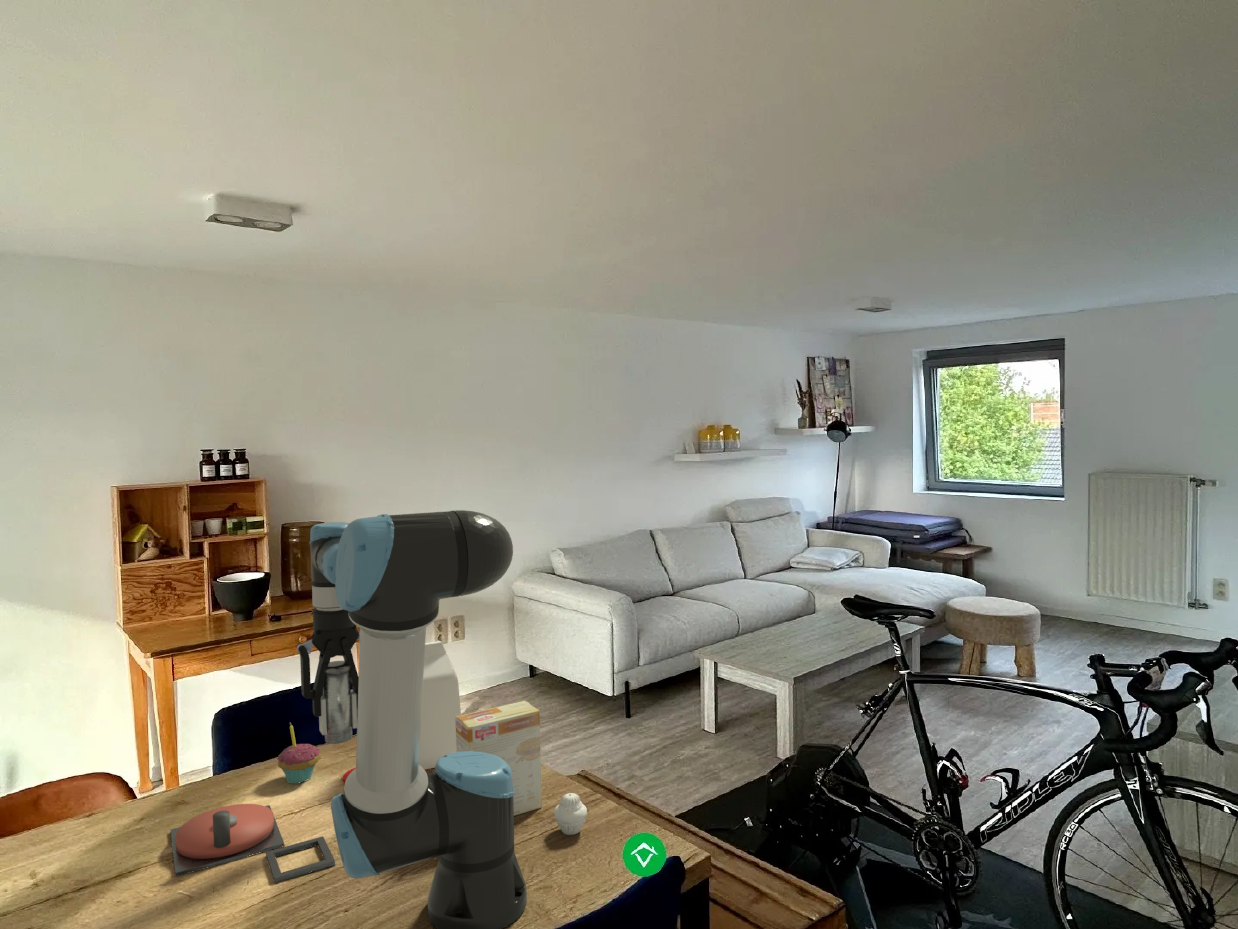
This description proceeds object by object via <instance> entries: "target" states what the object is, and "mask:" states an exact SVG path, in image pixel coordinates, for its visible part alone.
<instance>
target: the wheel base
mask: <svg viewBox="0 0 1238 929" xmlns="http://www.w3.org/2000/svg"><path fill="white" fill-rule="evenodd" d="M265 806H266V807H268V808H269V809H271V810H272V808H271V805H270V804H267V805H265ZM180 827H181V826H178V827H175V828H171V829H170V836H171V837H170V838H171V839H170V840H171V846H172V855H173V865H174V867H173V868H174V875H175V877H179V876H182V875H186V874H190V873H193V872H192V871H194V872H197V871H201V870H204V869H203V868H205V869H208V868H211V866H212V867H214V865H216V866H218V865H222V864H226V863H229V862H233V860H234V861H237V860H241V859H244V857H245V858H247V856H248V857H250V856H249V855H252V854H255V855H257V854H256V853H259V852H263V853H266V852H267V851H271V850H272V849H274V850H275V849H276V848H277V849H278V848H280V847H281V848H282V846H284V847H285V842H284V838H283V836H282V834H281V831H280V829H279V826H278V822H277V820H276V818H275V817H274V829H273V831H272V832H271V834H270V835H269V836H268V837H267V838H265V839H264V840H263V841H261V842H260V843H258V844H257V845H255V846H253V847H251V848H249V849H246V850H244V851H241V852H238V853H235V854H232V855H228V856H223V857H218V858H210V859H195V858H189V857H186V856H183V855H181V854H180V853H179V852H178V851H177V849H176V833H177V831H178V830H179V828H180ZM259 854H260V853H259ZM252 856H253V855H252ZM236 859H237V860H236ZM207 867H208V868H207ZM200 869H201V870H200Z"/></svg>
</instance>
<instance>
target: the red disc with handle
mask: <svg viewBox="0 0 1238 929" xmlns="http://www.w3.org/2000/svg"><path fill="white" fill-rule="evenodd" d="M266 806H267V805H263V804H256V803H239V804H230V805H225V806H221V807H217V808H214V809H209V810H207V811H205V812H203V813H201V814H198V815H196V816H194V817H192V818H190V819H188V820H187V821H185V822H184V823H183V824H182V825H181V826H179V827H180V828H179V830H178V831H177V833H176V849H177V851H178V852H179V853H180V854H181V855H183V856H186V857H189V858H195V859H210V858H218V857H223V856H228V855H232V854H235V853H238V852H241V851H244V850H246V849H249V848H251V847H253V846H255V845H257V844H258V843H260V842H261V841H263V840H264V839H265V838H267V837H268V836H269V835H270V834H271V832H272V831H273V829H274V818H275V814H274V812H273V810H272V808H271V809H269V808H268V807H266Z"/></svg>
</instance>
